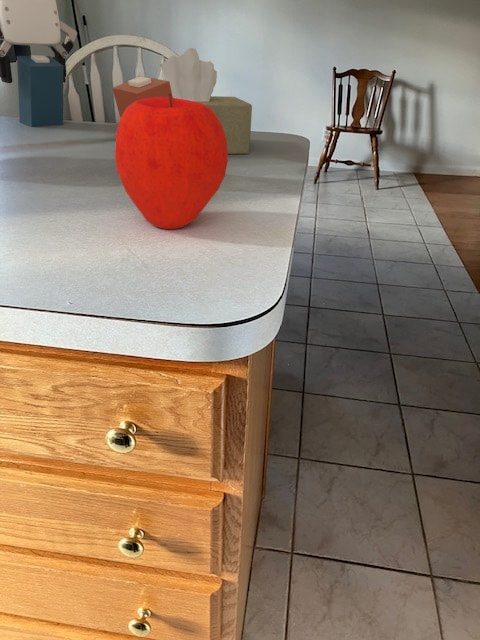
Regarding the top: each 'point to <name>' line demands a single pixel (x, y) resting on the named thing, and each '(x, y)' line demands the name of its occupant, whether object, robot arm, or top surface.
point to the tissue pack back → (40, 90)
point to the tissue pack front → (139, 91)
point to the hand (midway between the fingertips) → (34, 82)
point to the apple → (170, 158)
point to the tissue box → (210, 97)
